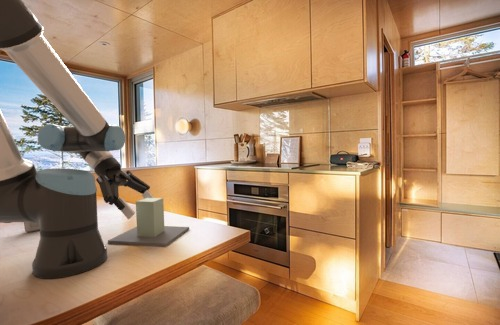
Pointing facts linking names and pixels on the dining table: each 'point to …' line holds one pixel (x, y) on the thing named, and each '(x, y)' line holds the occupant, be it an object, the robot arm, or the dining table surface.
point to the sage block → (150, 217)
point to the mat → (159, 240)
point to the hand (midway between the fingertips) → (145, 210)
